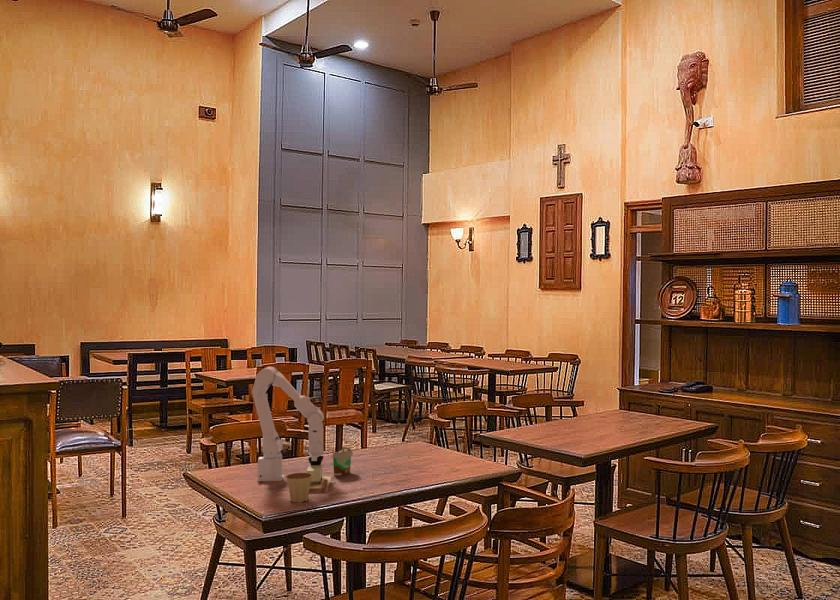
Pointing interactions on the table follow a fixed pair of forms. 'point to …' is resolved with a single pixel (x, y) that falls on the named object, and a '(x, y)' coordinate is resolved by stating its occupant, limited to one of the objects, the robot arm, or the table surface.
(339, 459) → the food container
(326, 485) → the dock board
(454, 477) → the table surface
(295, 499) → the flower pot
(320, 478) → the cream rectangular block
